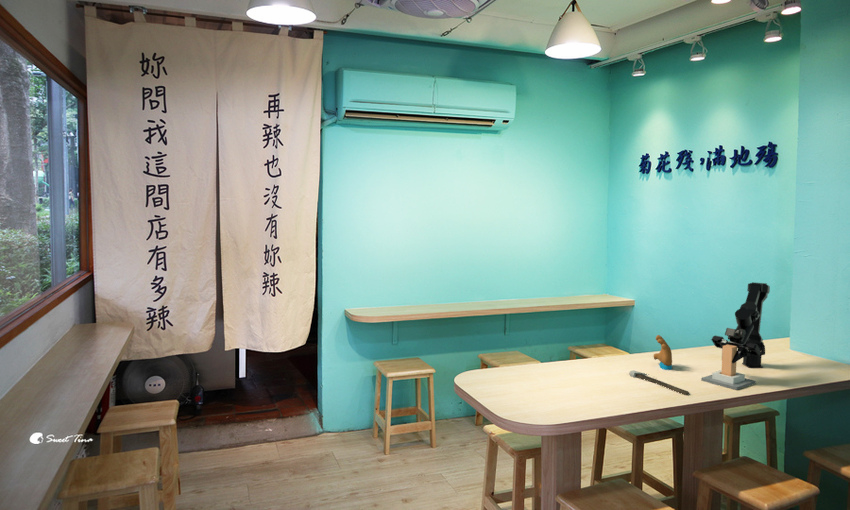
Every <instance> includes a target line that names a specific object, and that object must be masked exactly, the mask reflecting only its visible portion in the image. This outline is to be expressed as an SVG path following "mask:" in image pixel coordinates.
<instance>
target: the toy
mask: <svg viewBox="0 0 850 510" xmlns="http://www.w3.org/2000/svg"><path fill="white" fill-rule="evenodd" d="M655 340H656V341H657V343H658V344H659V345H660V348H661V349H660V351H659V353H654V354H653V360H655V361H656V360H658V361H659V363H658V364H659V368H660V369H662V370H664V371H671V370H672V369H673V368H672V367H673V355H672V349H671V347H670V345H669V344H668V343H667V342H666V341H665V339H664V338H663V337H662V336H661V335H659V334H657V335H656V336H655Z"/></svg>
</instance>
